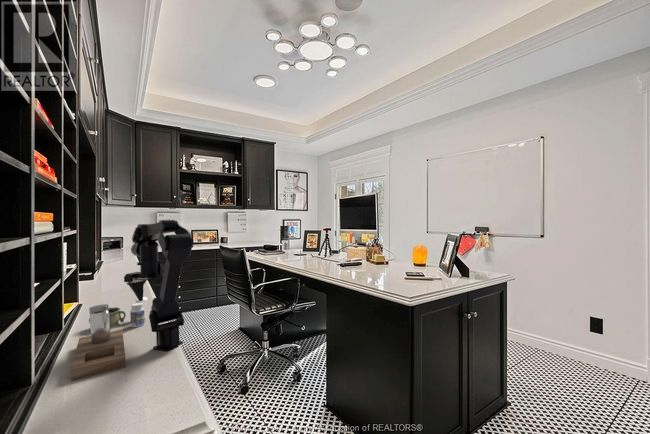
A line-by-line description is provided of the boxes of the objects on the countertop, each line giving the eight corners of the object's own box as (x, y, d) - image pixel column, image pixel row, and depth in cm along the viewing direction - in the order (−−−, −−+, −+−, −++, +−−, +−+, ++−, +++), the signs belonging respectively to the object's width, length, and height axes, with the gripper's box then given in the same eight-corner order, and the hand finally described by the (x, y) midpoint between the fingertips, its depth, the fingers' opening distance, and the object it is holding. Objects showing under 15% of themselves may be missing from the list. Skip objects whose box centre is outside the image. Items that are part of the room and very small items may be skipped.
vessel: (127, 320, 129) (126, 305, 129) (125, 326, 121) (124, 310, 121) (91, 325, 123) (90, 310, 123) (86, 333, 116) (86, 316, 116)
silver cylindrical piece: (111, 340, 100) (109, 306, 100) (91, 345, 97) (89, 310, 97) (109, 336, 104) (107, 303, 104) (91, 340, 101) (88, 306, 101)
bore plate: (125, 366, 89) (125, 356, 88) (71, 380, 82) (71, 369, 82) (122, 338, 110) (122, 329, 110) (79, 347, 103) (79, 338, 103)
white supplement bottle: (135, 322, 126) (134, 297, 126) (136, 318, 131) (135, 294, 131) (147, 320, 129) (147, 295, 128) (148, 316, 133) (147, 293, 133)
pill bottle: (138, 327, 120) (137, 306, 120) (127, 327, 121) (127, 305, 121) (147, 323, 124) (146, 302, 124) (137, 322, 125) (136, 302, 125)
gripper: (186, 256, 116) (187, 297, 117) (148, 254, 123) (150, 294, 123) (162, 260, 106) (163, 306, 106) (122, 259, 112) (123, 302, 112)
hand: (150, 301), depth 112 cm, fingers open, 9 cm apart
